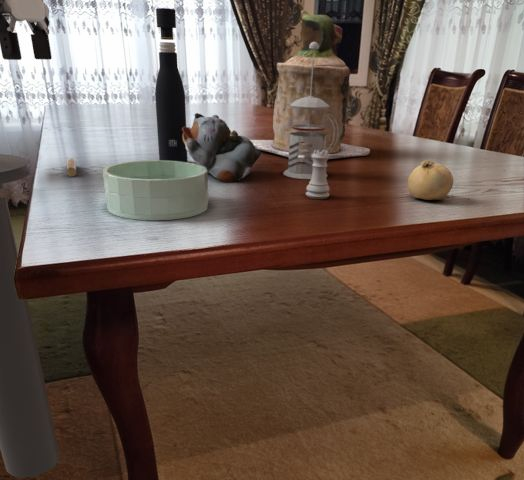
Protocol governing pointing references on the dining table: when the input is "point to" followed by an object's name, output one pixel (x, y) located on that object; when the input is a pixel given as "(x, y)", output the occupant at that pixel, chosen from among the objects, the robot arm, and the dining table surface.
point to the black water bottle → (169, 94)
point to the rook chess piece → (318, 176)
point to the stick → (71, 167)
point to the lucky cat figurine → (219, 148)
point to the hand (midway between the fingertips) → (28, 59)
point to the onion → (430, 181)
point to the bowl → (156, 189)
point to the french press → (307, 135)
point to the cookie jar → (313, 91)
